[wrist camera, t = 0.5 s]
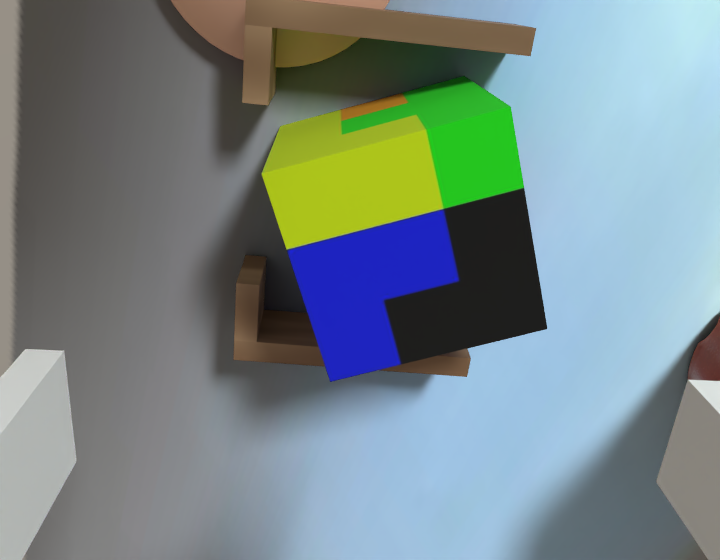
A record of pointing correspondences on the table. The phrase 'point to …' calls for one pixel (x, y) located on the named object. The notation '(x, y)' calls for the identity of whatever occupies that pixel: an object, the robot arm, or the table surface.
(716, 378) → the flower pot
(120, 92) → the table surface
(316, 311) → the puzzle toy
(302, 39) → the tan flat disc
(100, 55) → the table surface
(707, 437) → the robot arm
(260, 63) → the pocket frame
